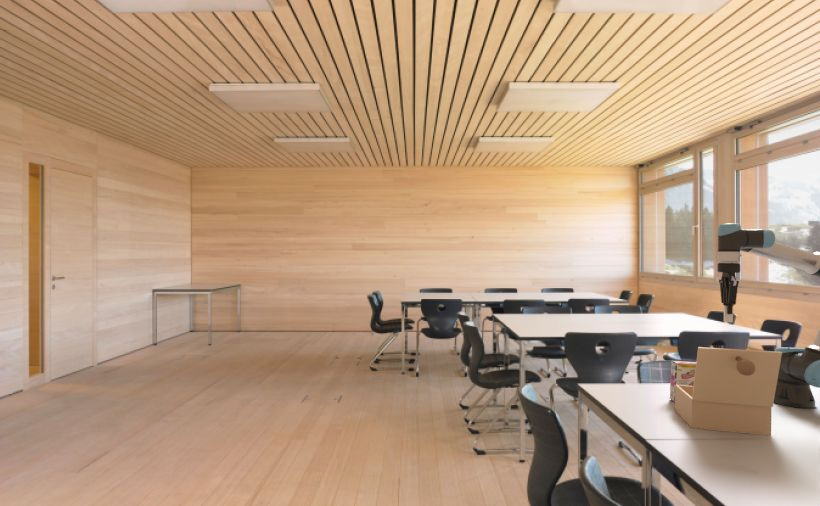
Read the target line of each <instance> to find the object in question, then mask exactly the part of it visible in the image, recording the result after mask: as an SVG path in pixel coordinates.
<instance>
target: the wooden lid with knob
mask: <svg viewBox="0 0 820 506" xmlns="http://www.w3.org/2000/svg"><path fill="white" fill-rule="evenodd" d="M696 354H697V355H696V361H695V362H696V369H695V377H694V386H693V394H692V400H693V401H705V402H717V403H729V404H741V405H753V406H765V407H771V408H773V407H774V397H775V391H776V385H777V379H778V373H779V368H780V362H781V356H782V352H776V351H775V350H774V351H773V350H772V351H771V350H757V349H754V350H753V349H741V348H740V349H739V348H723V347H706V346H705V347H703V346H698V347H697V353H696Z"/></svg>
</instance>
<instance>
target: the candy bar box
mask: <svg viewBox="0 0 820 506" xmlns="http://www.w3.org/2000/svg"><path fill="white" fill-rule="evenodd" d="M695 369H696V361H683V360H682V361H681V360H670V382H669V383H670V384H669V385H670V386H669V400H670V399H671V400H670V401H671V402H673V401H674V402H673V403H675V385H686V386H694V377H695Z"/></svg>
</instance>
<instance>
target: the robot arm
mask: <svg viewBox="0 0 820 506" xmlns="http://www.w3.org/2000/svg"><path fill="white" fill-rule="evenodd" d="M716 236H717V254H716V255H717V258H716V259H717V262H718V263H717V272H718V273H722V274H721V277H720V278H721V279H720V278H719V280H718V282H719V289H720V292H719V293H720V302H721V304H722V305H723V322H724V323H734V306H735V305H736V304H737V297H738V296H737V295H738V288H739V283H740V280H737V278H736V276H737V275H736V274H738V273H741V264H740V262H741V257H742V254H741V252H743V253H748V254H752V255H754V256H758V257H761V258H764V259H768V260H771V261H774V262H777V263H781V264H784V265H787V266H790V267H793V268H797V269H800V270H802V271H804V272H805V273H806V274H808V275H811V276H814V277H816V278H817V277H818V278H820V252H819V251H815V252H810V251H807V250H804V249H800V248H797V247H794V246H790V245H787V244H785V243H784V244H783V243H780V242H777V241H776V235H775V232H774V231H773V230H772V229H766V228H765V229H764V228H755V229H753V228H746V229H745V228H742V226H741V224H740V223H721V224H719V226H718V228H717V235H716ZM774 351H776V352H782V356H781V362H780V368H779V373H778V379H777V385H776V391H775V397H774V402H773V404H774V403H775V404H777V405H782V406H787V407H792V408H797V409H798V408H799V409H814V408H815V407H816V400H815V398H814V395H813V391H812V390H811V386H812V387H814V388H820V326H819V328H818V330H817V332H816V335H815V336H814V340H813V341H812V343H811V344H810V345H806V346H805V348H804V347H790V346H789V347H782V346H781V347H780V346H779V347H776V348H775V349H774Z"/></svg>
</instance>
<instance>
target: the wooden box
mask: <svg viewBox="0 0 820 506" xmlns="http://www.w3.org/2000/svg"><path fill="white" fill-rule="evenodd" d="M692 394H693V386H686V385H675V402H674V412H676V413H677V415H679V416H680V418H681V419H682V420H683V419H684V420H685V421H686V422H687V423H686V422H685V421H684V420H683V421H684V422H685V423H686V424H687V425H688V424H689V425H688V426H689V427H690V428H691V429H698V428H699V429H700V430H708V429H709V430H708V431H710V430H711V431H719V430H720V431H721V432H729V431H730V433H739V432H740V433H741V434H752V435H760V436H761V435H762V436H772V407H765V406H753V405H741V404H729V403H717V402H705V401H693V400H692ZM740 433H739V434H740Z"/></svg>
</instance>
